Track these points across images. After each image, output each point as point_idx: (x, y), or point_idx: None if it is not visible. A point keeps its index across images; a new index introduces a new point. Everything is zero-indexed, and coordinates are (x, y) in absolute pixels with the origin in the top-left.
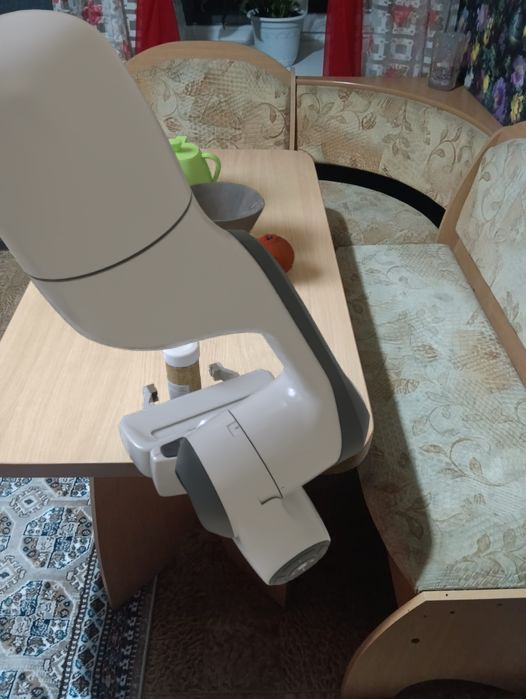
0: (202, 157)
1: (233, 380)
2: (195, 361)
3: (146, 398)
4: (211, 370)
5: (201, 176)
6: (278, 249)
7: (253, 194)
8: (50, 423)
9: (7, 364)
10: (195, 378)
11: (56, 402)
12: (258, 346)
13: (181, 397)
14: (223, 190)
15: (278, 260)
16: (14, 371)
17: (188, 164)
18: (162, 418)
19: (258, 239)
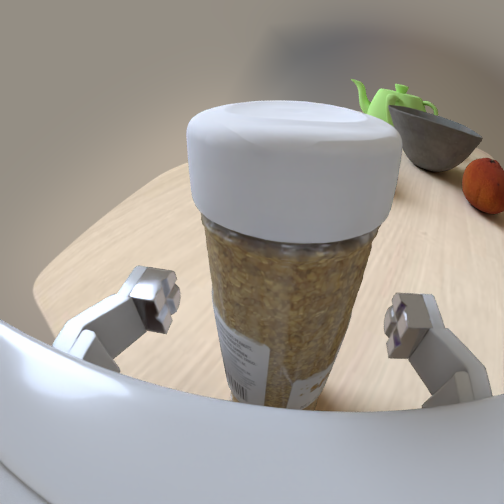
0: (423, 103)
1: (477, 420)
2: (345, 232)
3: (98, 307)
4: (396, 315)
5: None
6: (501, 176)
7: (469, 132)
8: (92, 267)
9: (140, 189)
10: (315, 332)
11: (125, 244)
12: (469, 291)
13: (165, 402)
14: (440, 123)
15: (500, 189)
16: (137, 197)
17: (411, 100)
18: (18, 428)
19: (479, 159)
